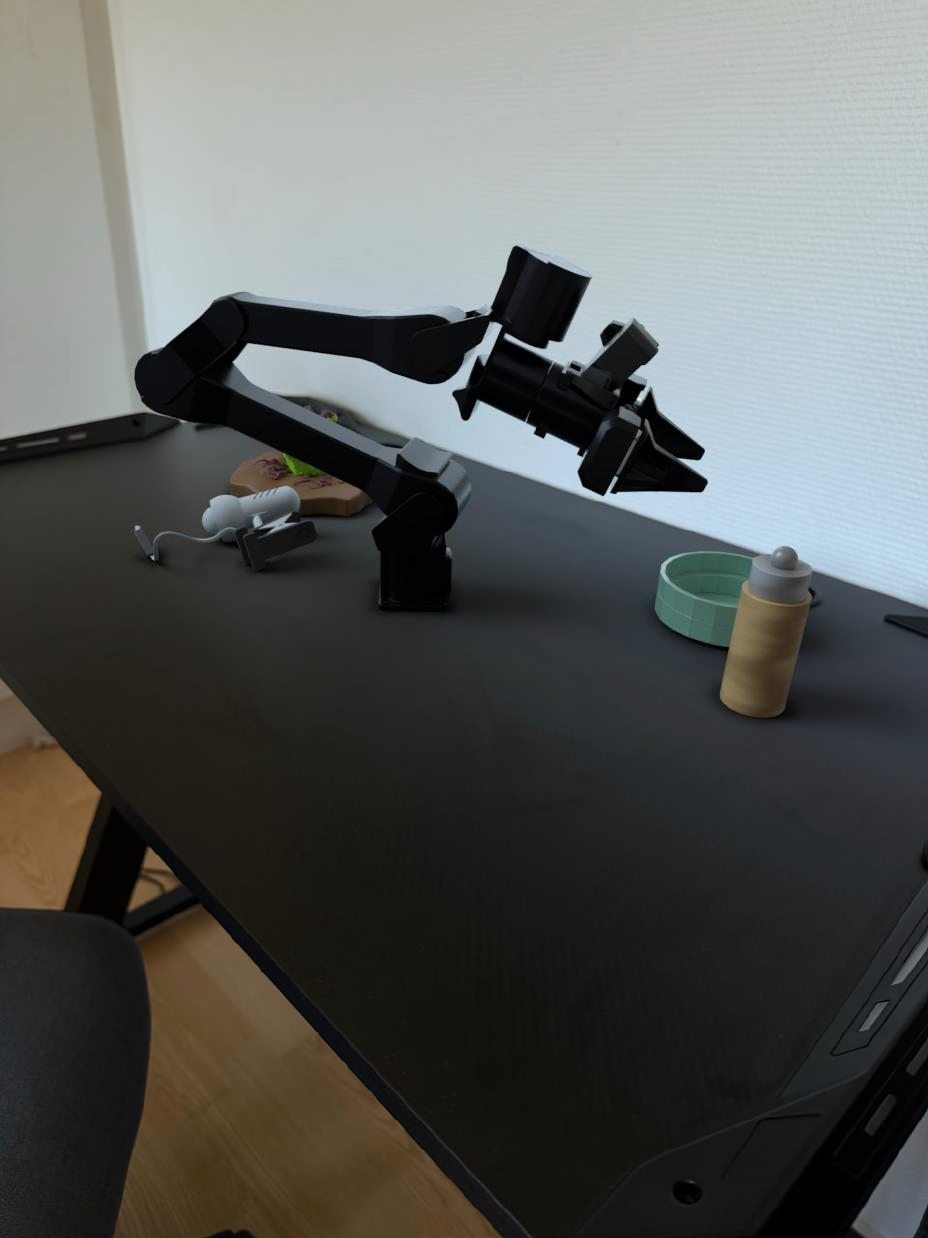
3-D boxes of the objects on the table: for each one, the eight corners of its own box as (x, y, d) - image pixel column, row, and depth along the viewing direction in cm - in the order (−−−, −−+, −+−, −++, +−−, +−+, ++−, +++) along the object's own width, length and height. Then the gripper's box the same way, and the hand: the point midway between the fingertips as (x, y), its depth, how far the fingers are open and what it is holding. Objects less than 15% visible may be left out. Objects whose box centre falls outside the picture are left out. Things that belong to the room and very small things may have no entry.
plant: (205, 507, 108) (197, 414, 102) (264, 460, 125) (259, 379, 120) (367, 524, 105) (367, 430, 100) (404, 473, 122) (405, 391, 117)
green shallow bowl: (673, 652, 80) (681, 607, 78) (640, 590, 92) (646, 549, 90) (813, 654, 81) (825, 610, 79) (764, 592, 93) (772, 552, 91)
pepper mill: (731, 717, 71) (765, 559, 65) (711, 683, 76) (741, 533, 70) (794, 718, 72) (834, 561, 65) (771, 684, 76) (806, 534, 70)
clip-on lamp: (151, 606, 90) (323, 555, 94) (129, 553, 86) (309, 502, 90) (145, 552, 99) (302, 507, 103) (125, 502, 96) (288, 457, 99)
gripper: (569, 318, 65) (763, 410, 65) (591, 288, 81) (746, 362, 81) (507, 453, 70) (687, 539, 70) (540, 400, 86) (685, 469, 86)
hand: (704, 470), depth 77 cm, fingers open, 9 cm apart
